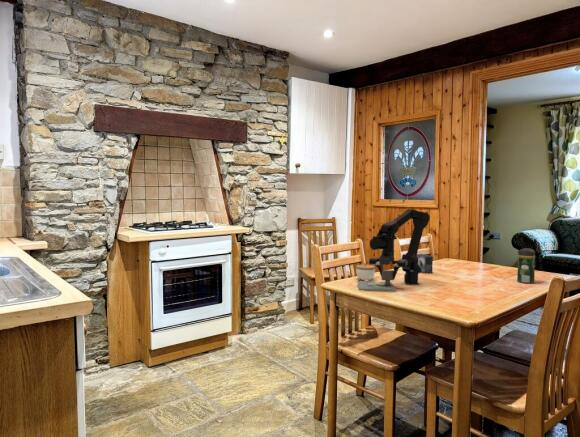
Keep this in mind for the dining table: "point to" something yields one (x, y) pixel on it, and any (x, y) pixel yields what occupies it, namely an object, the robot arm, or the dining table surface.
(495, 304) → the dining table surface
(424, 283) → the dining table surface
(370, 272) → the lidded jar
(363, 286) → the tuner board
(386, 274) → the peg knob
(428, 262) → the small box
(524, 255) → the coffee jar
